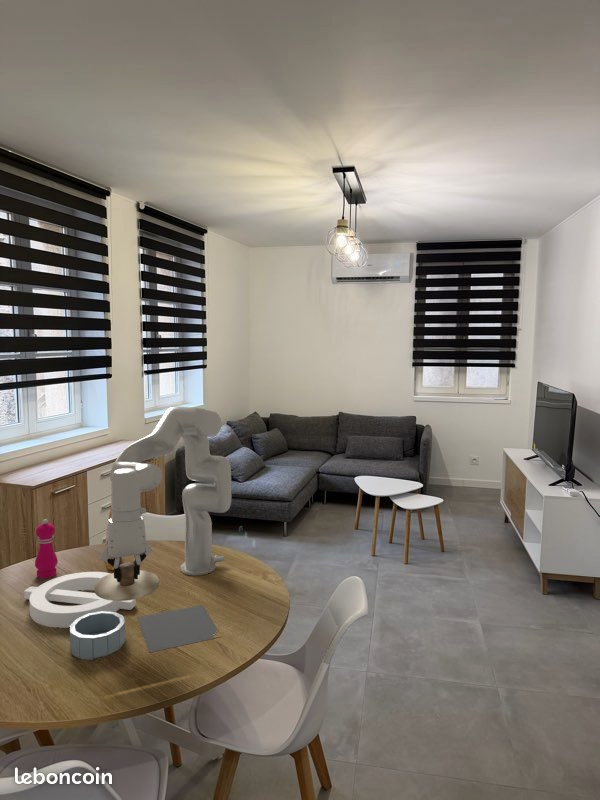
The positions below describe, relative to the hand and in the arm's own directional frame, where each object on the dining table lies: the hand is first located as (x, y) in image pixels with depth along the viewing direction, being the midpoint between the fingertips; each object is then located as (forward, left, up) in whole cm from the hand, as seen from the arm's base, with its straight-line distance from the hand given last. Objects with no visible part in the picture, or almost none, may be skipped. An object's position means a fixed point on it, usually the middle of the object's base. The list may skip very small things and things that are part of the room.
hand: (126, 578), depth 152 cm
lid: (0, 0, -2) cm, 2 cm away
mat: (-14, 0, -18) cm, 23 cm away
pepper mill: (+20, -53, -18) cm, 59 cm away
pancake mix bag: (-3, -55, -18) cm, 58 cm away
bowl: (+8, 0, -18) cm, 19 cm away
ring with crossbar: (+11, -26, -18) cm, 34 cm away
